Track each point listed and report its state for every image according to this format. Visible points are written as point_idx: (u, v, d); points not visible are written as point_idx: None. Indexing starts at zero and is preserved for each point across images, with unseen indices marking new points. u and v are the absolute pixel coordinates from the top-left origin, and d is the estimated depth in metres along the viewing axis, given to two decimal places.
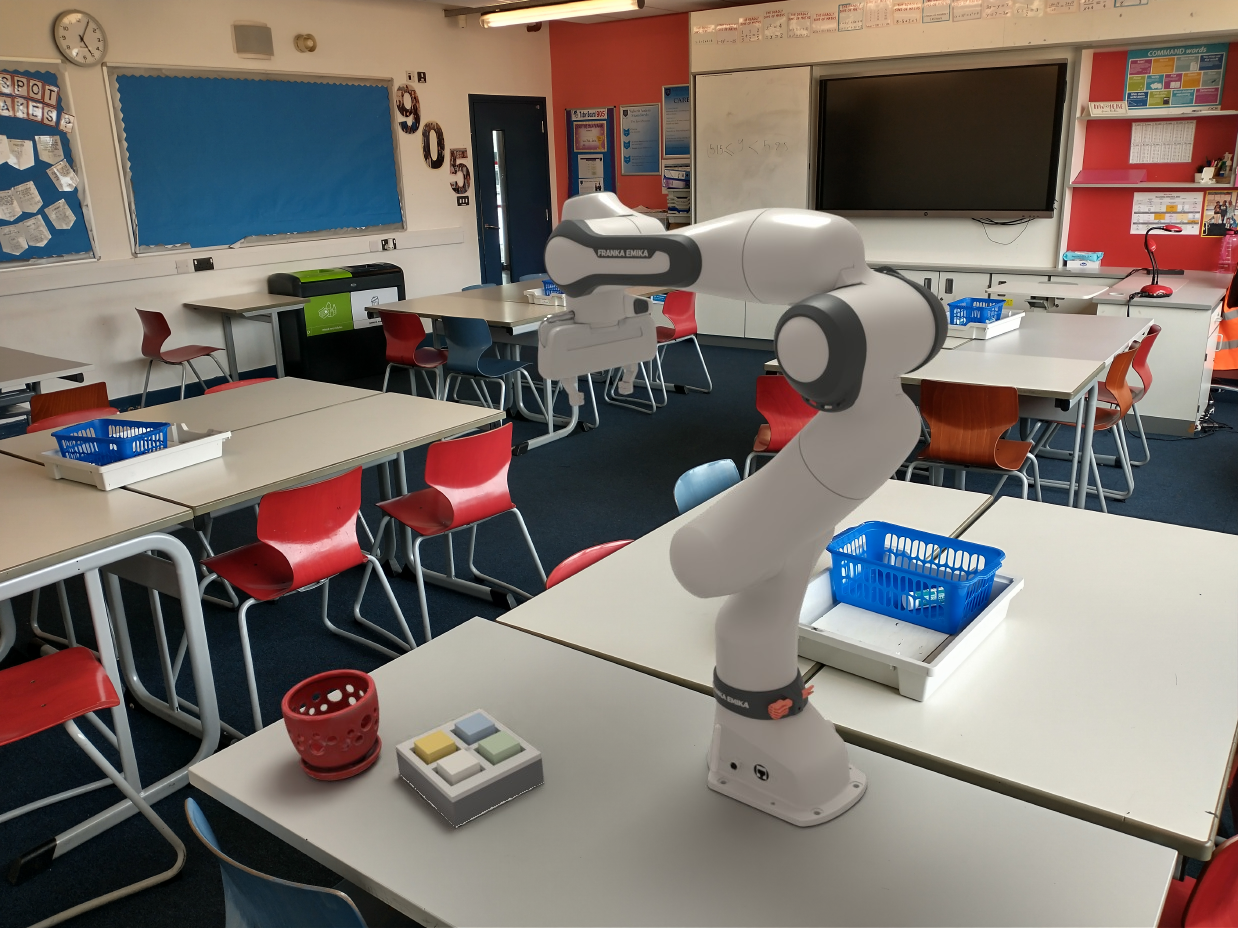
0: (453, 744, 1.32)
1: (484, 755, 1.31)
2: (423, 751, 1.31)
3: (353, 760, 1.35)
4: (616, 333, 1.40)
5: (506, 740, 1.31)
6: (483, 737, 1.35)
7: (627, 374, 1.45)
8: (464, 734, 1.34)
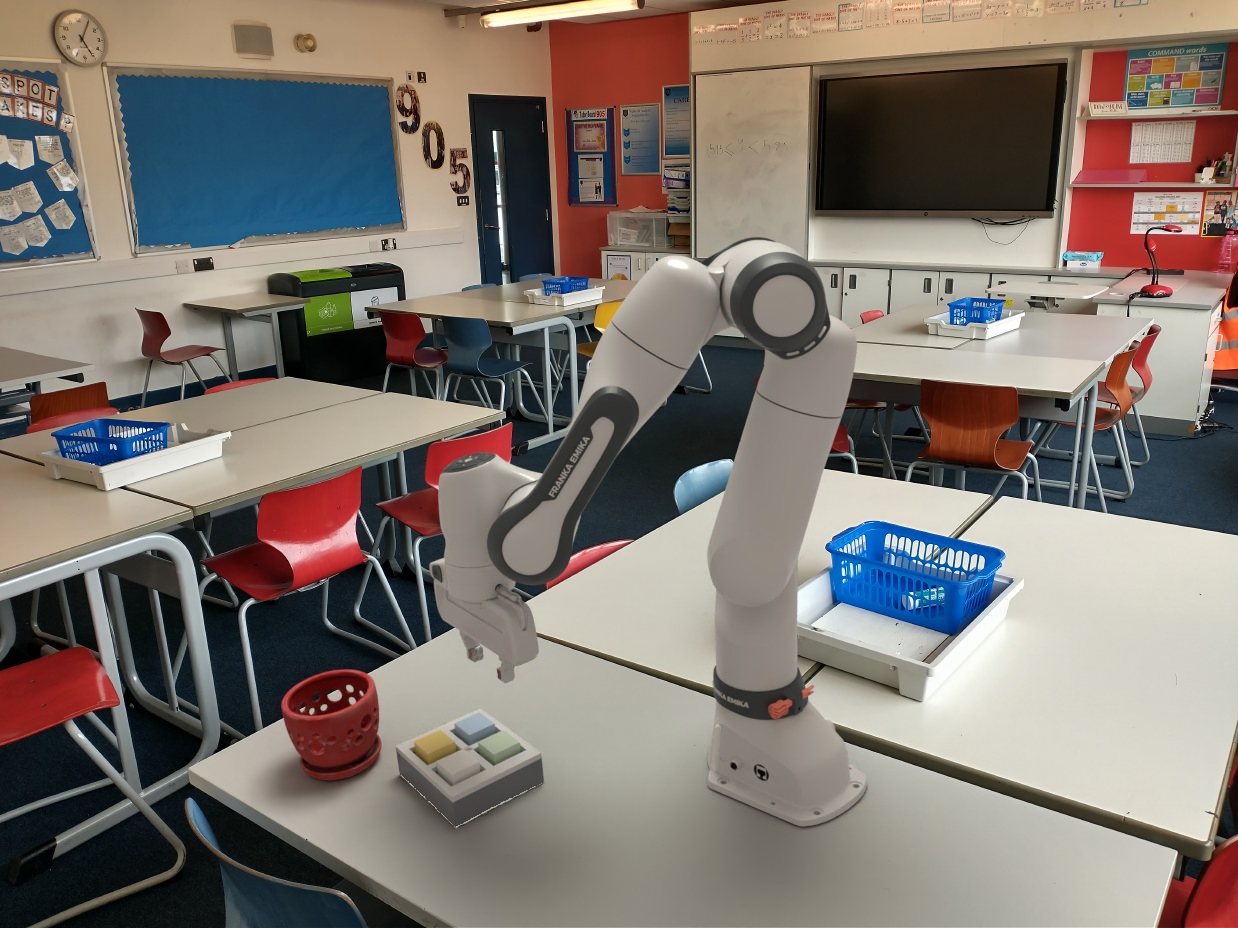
0: (453, 744, 1.32)
1: (484, 755, 1.31)
2: (423, 751, 1.31)
3: (352, 760, 1.35)
4: None
5: (506, 740, 1.31)
6: (483, 737, 1.35)
7: (469, 639, 1.30)
8: (464, 734, 1.34)
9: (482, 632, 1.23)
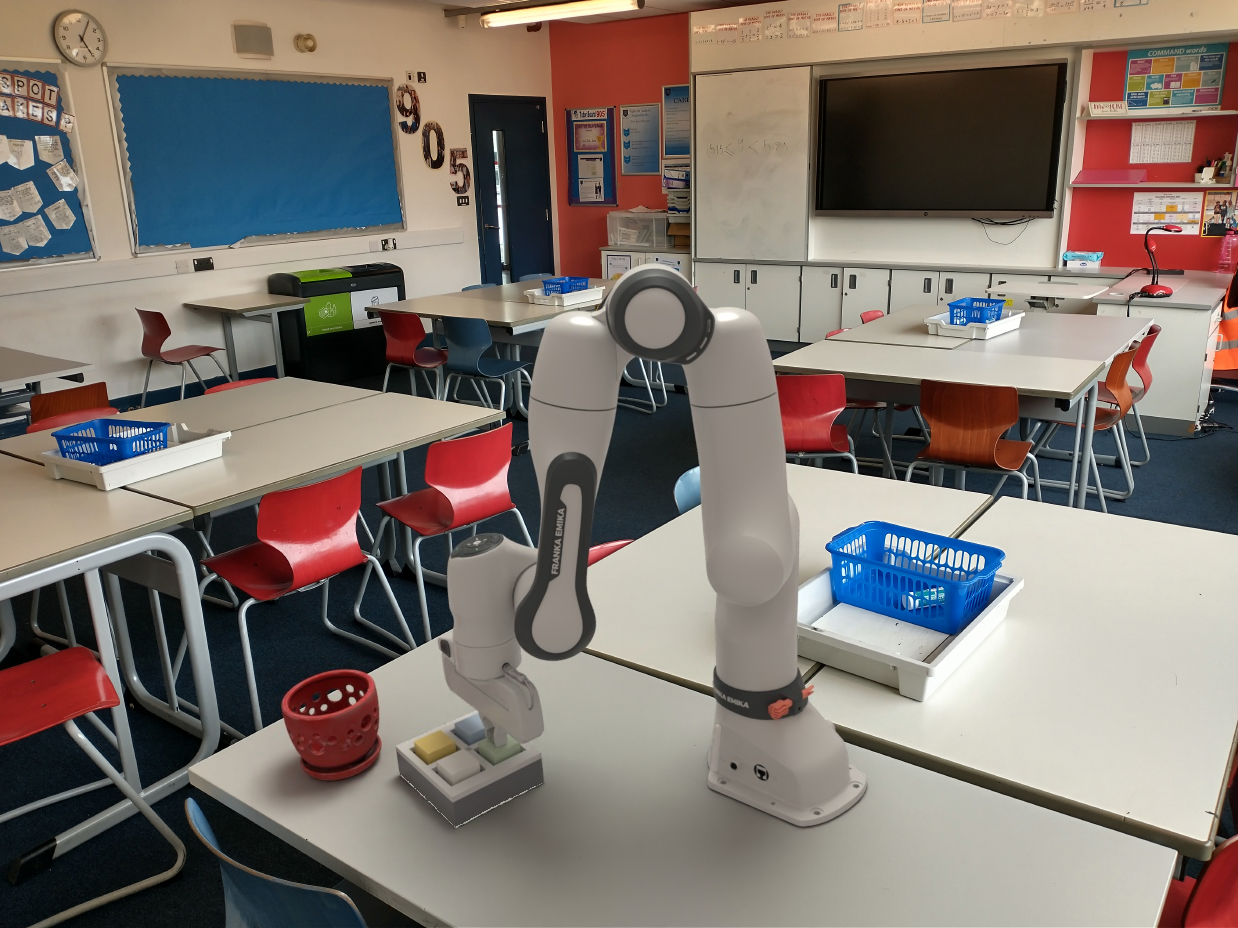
0: (453, 744, 1.32)
1: (484, 755, 1.31)
2: (423, 751, 1.31)
3: (353, 760, 1.35)
4: None
5: None
6: (483, 737, 1.35)
7: (487, 720, 1.31)
8: (464, 734, 1.34)
9: (489, 708, 1.27)
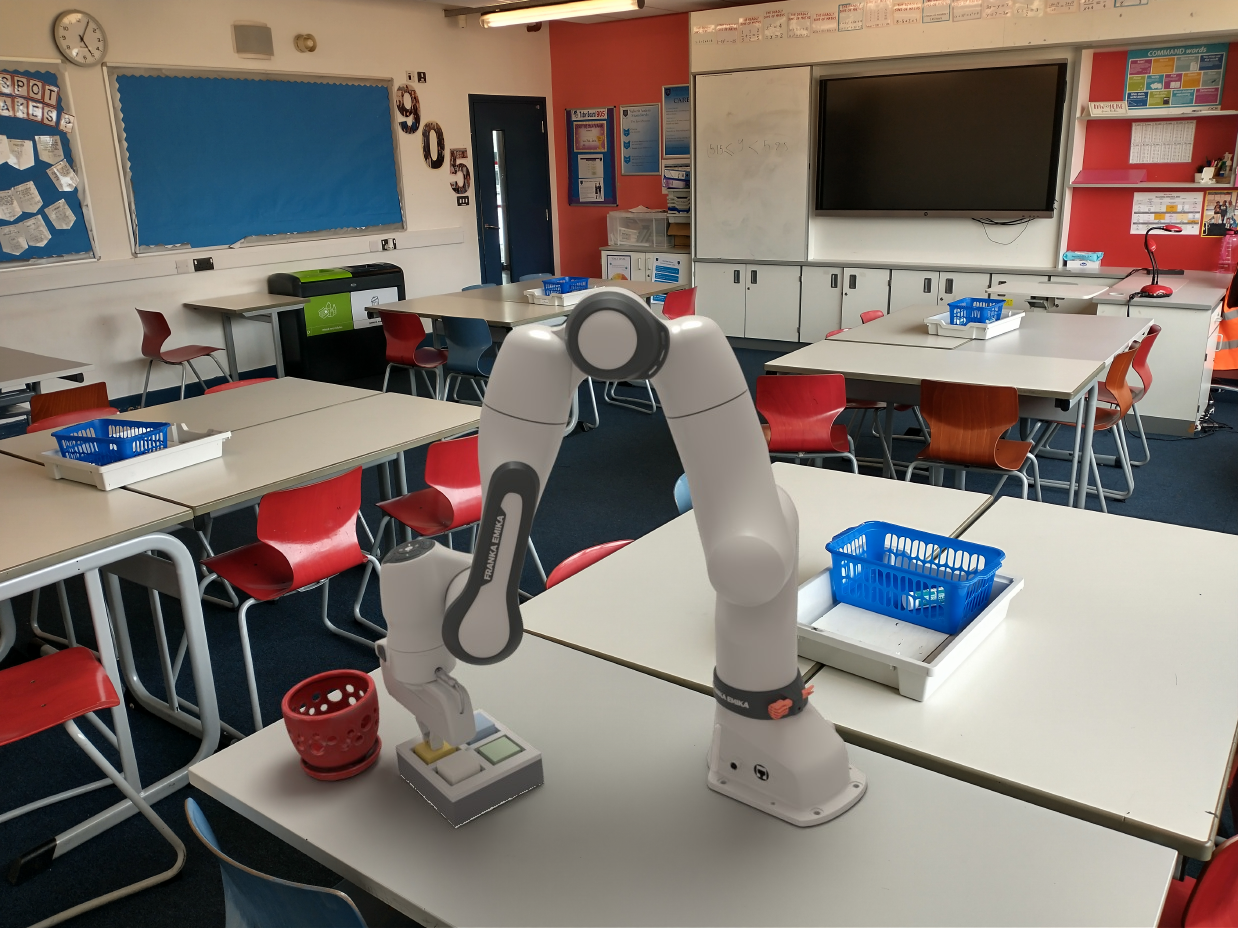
0: (454, 748, 1.32)
1: None
2: (423, 755, 1.31)
3: (353, 760, 1.35)
4: None
5: (507, 747, 1.32)
6: (483, 737, 1.35)
7: (424, 723, 1.33)
8: None
9: (423, 712, 1.28)
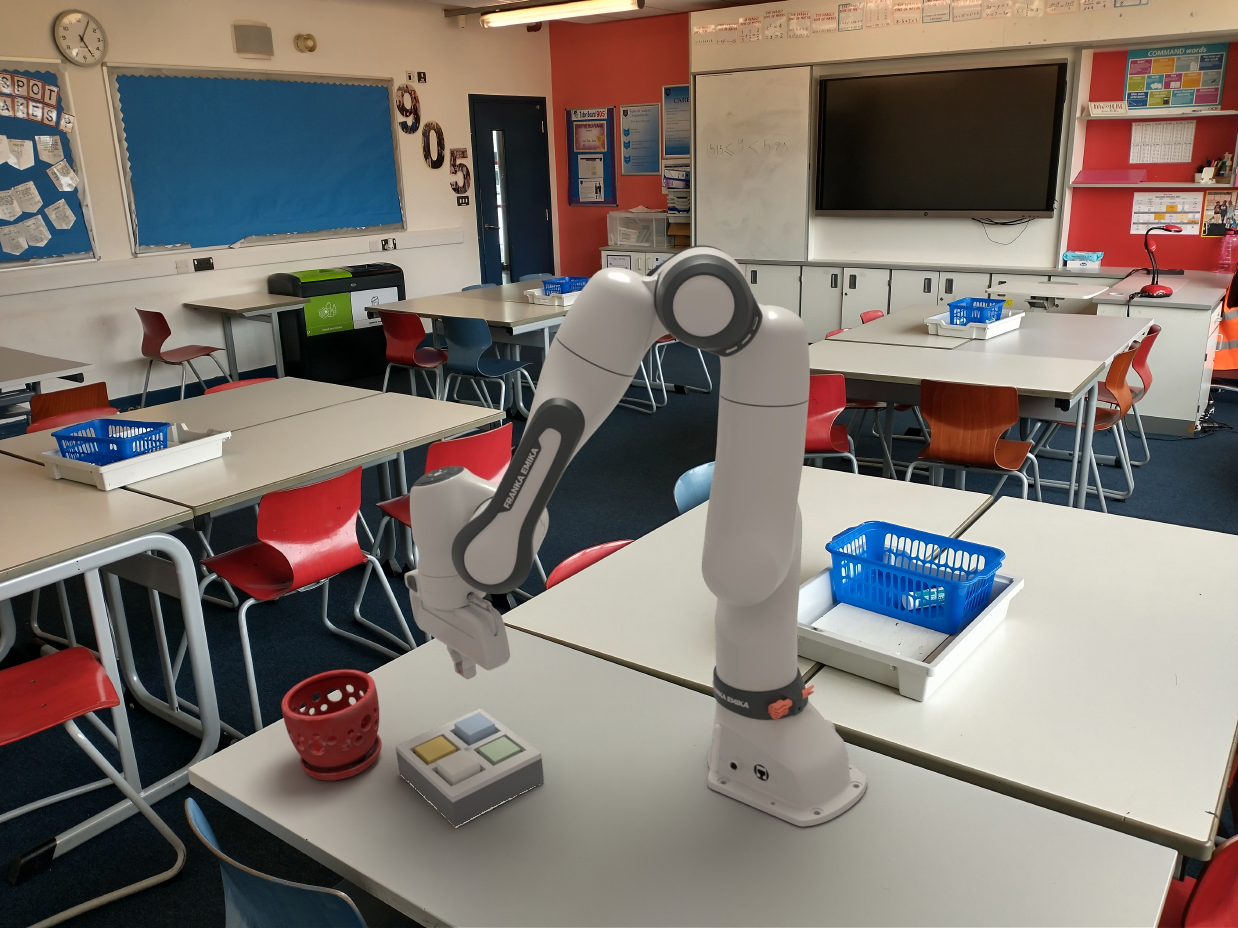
0: (454, 750, 1.32)
1: None
2: (424, 757, 1.31)
3: (353, 760, 1.35)
4: None
5: (507, 747, 1.32)
6: (483, 737, 1.35)
7: (456, 653, 1.33)
8: (464, 734, 1.34)
9: (456, 639, 1.28)
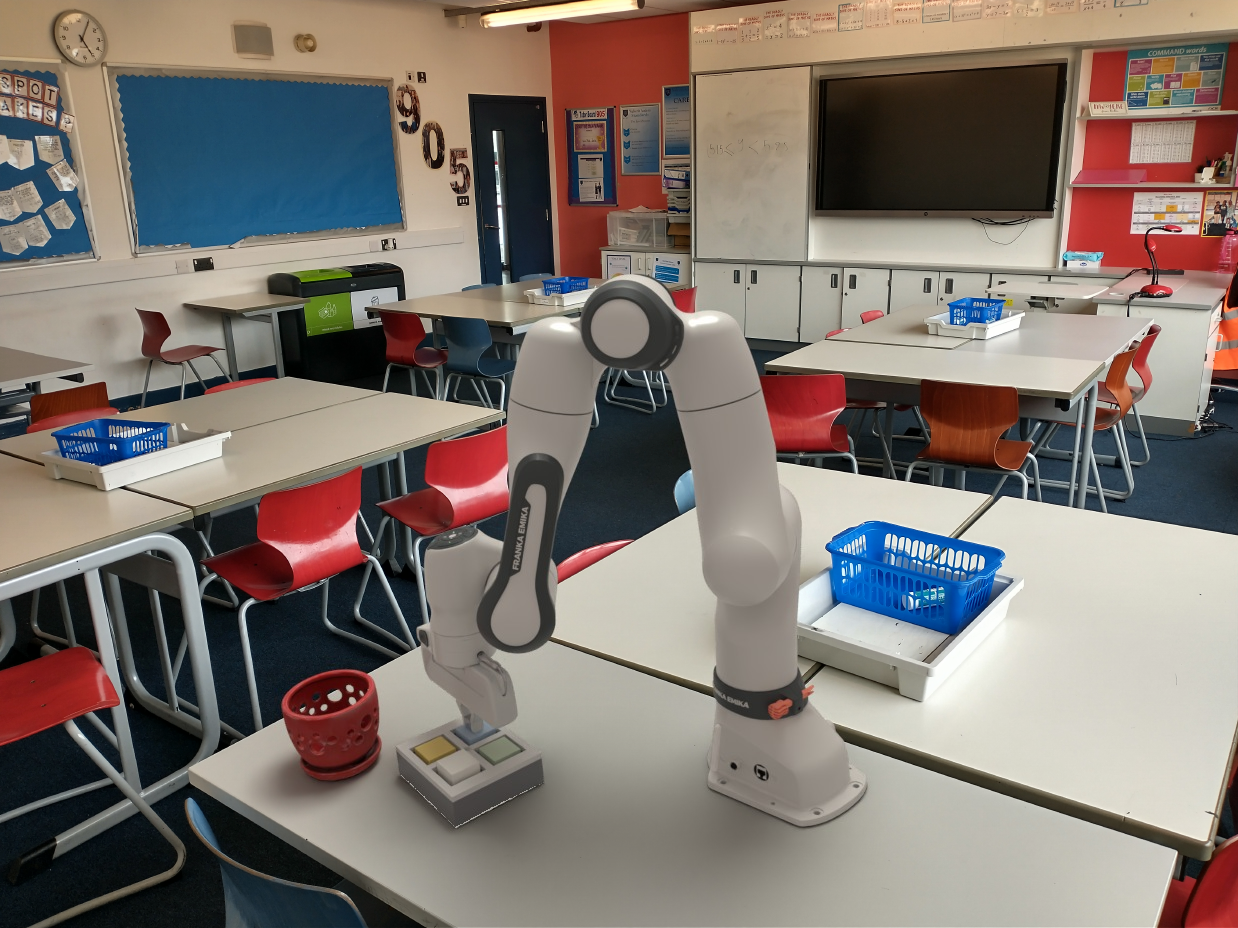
0: (454, 750, 1.32)
1: None
2: (424, 757, 1.31)
3: (353, 760, 1.35)
4: None
5: (507, 747, 1.32)
6: None
7: (465, 707, 1.36)
8: (465, 739, 1.35)
9: (465, 695, 1.32)
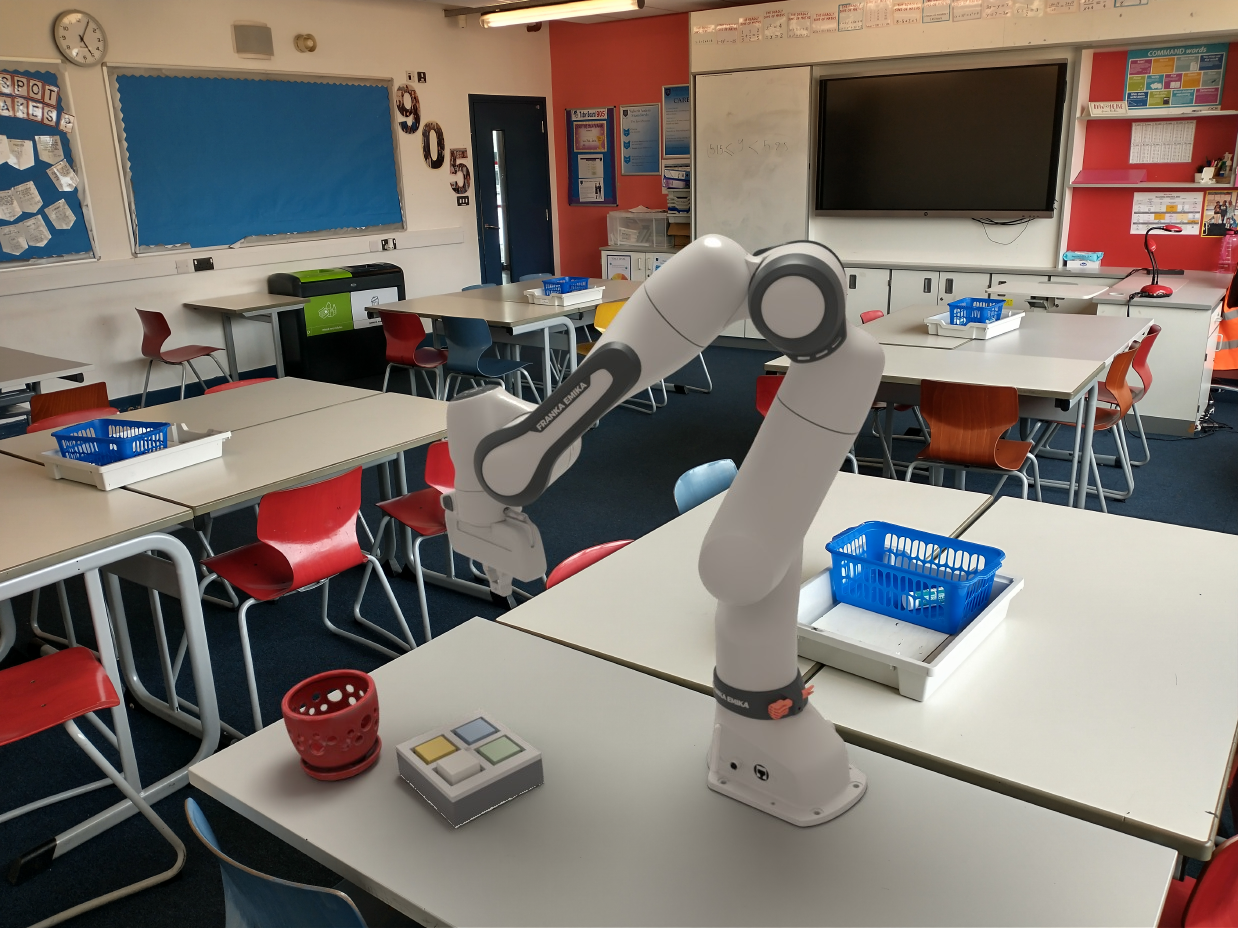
0: (454, 750, 1.32)
1: None
2: (424, 757, 1.31)
3: (353, 760, 1.35)
4: None
5: (507, 747, 1.32)
6: None
7: (492, 572, 1.36)
8: (465, 741, 1.35)
9: (492, 555, 1.31)
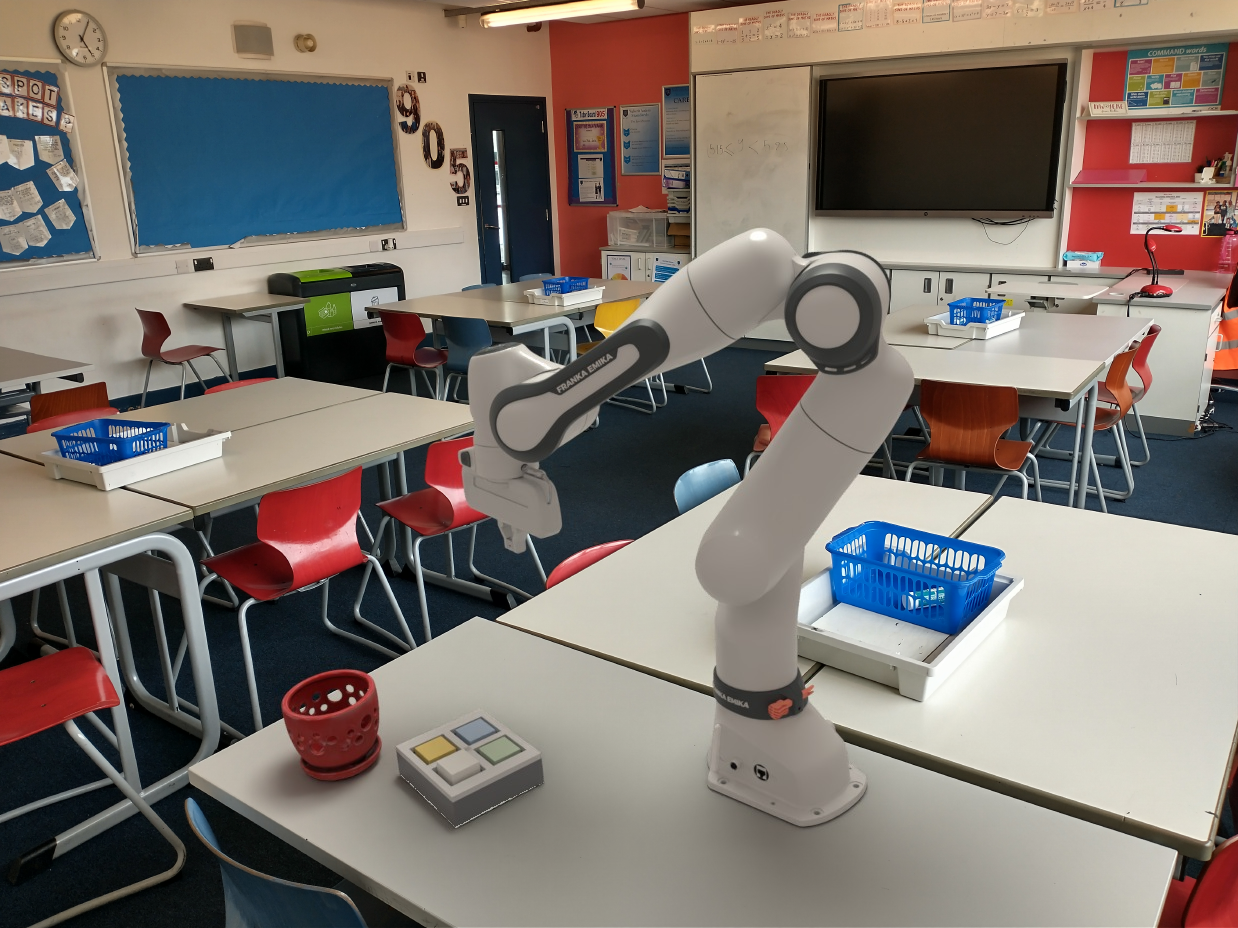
0: (454, 750, 1.32)
1: None
2: (424, 757, 1.31)
3: (353, 760, 1.35)
4: None
5: (507, 747, 1.32)
6: None
7: (506, 529, 1.37)
8: (465, 741, 1.35)
9: (508, 511, 1.32)
